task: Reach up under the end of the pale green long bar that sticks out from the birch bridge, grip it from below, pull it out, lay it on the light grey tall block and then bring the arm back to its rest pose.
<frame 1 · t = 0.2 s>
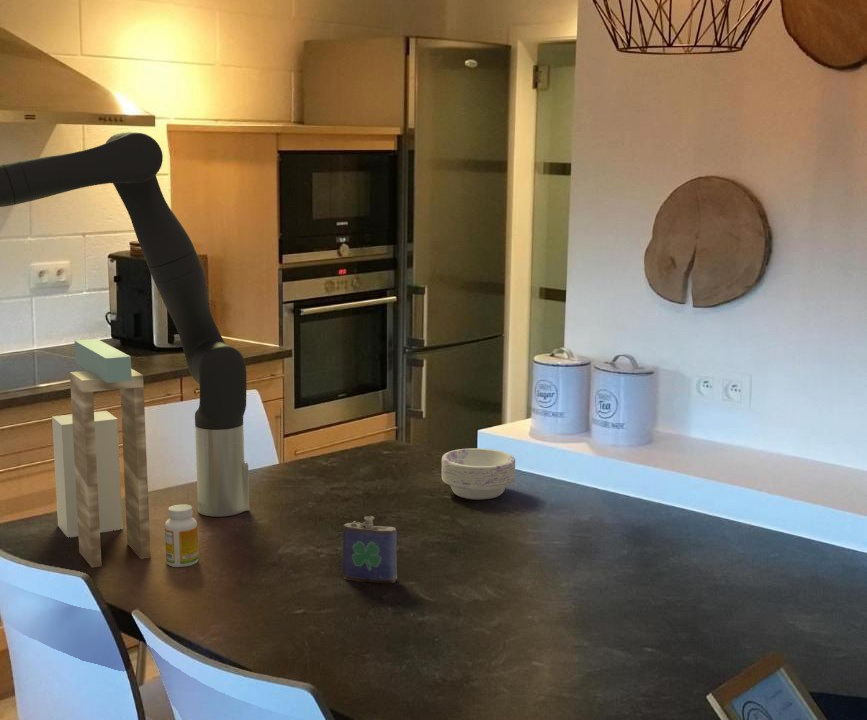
bridge: (114, 554, 196), on the table
light grey tall block: (90, 527, 211), on the table
paper bowls: (478, 494, 234), on the table
pale green long bar: (102, 371, 193), point 32 cm above the table, touching bridge
supplement bottle: (182, 563, 193), on the table
flask: (369, 580, 185), on the table
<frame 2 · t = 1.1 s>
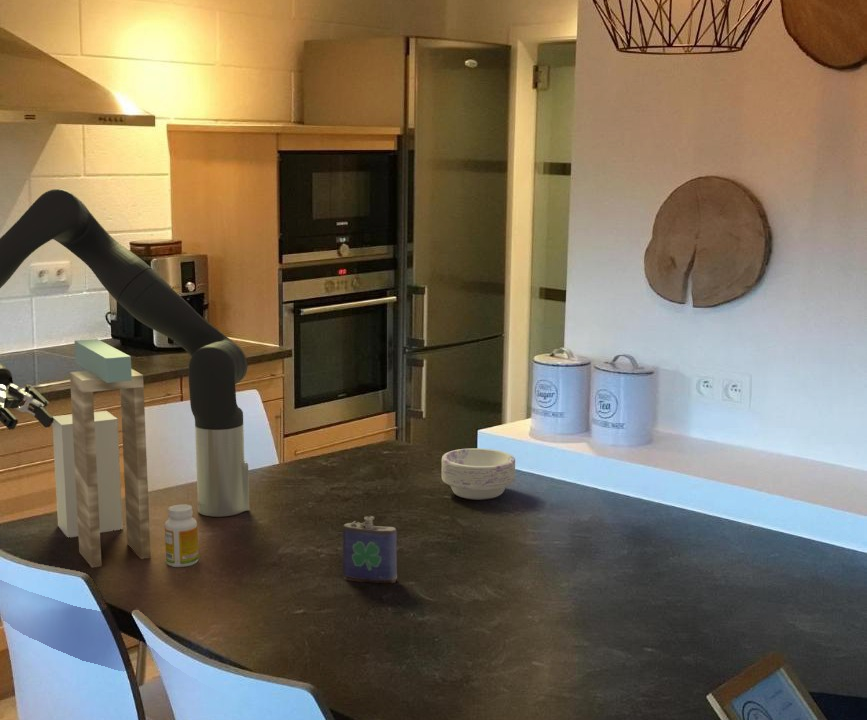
hand: (32, 424, 203), 21 cm above the table, tool tilted 60°, fingers open, 8 cm apart
nothing on the table moved.
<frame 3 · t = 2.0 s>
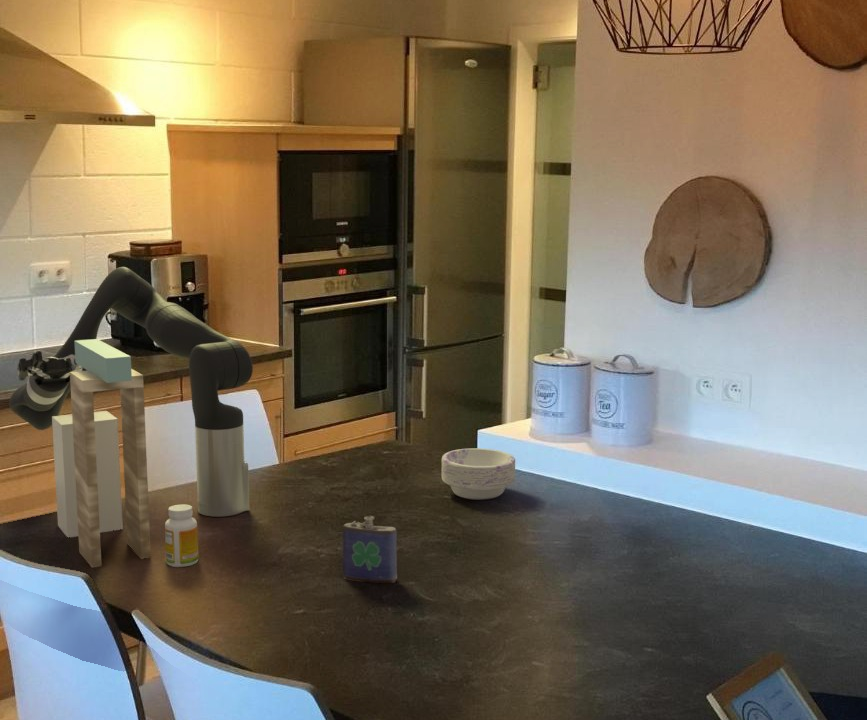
hand: (63, 353, 218), 31 cm above the table, tool pointing upward, fingers open, 8 cm apart
nothing on the table moved.
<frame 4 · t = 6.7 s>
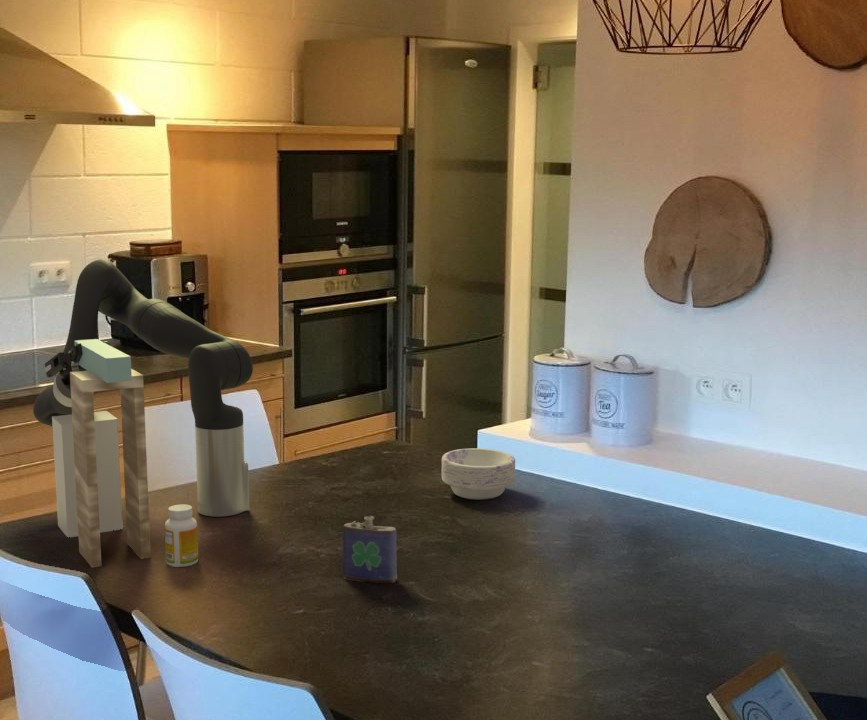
hand: (93, 347, 197), 35 cm above the table, tool pointing upward, fingers closed on pale green long bar, 4 cm apart
pale green long bar: (102, 371, 193), point 32 cm above the table, touching bridge, gripper
everything else where it was.
when the fingers open (25 cm above the table, at t = 12.7 s): pale green long bar stays where it is, resting on light grey tall block.
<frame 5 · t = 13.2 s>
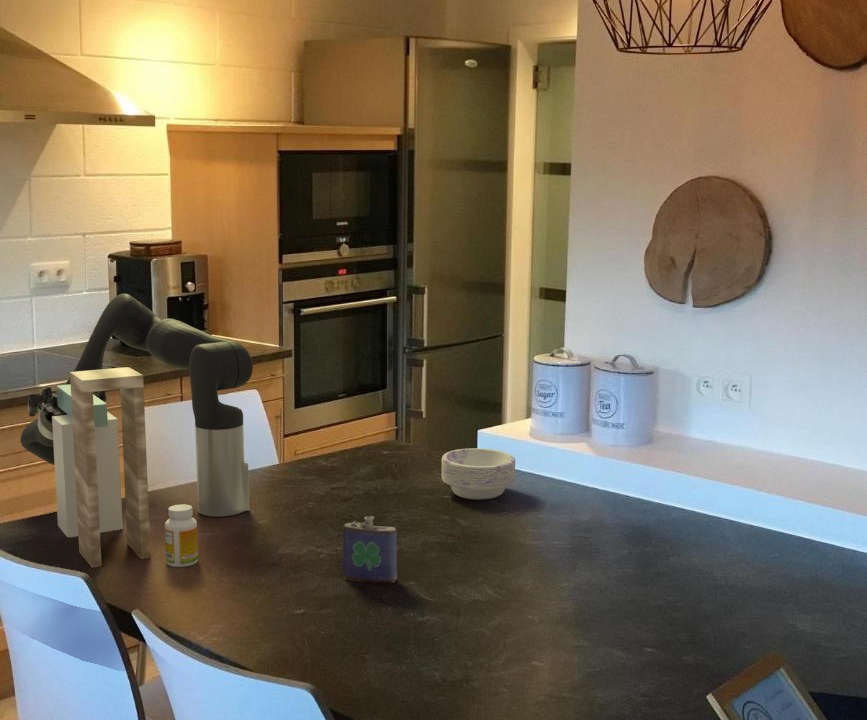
hand: (73, 388, 214), 25 cm above the table, tool pointing upward, fingers open, 8 cm apart
pale green long bar: (81, 415, 210), point 21 cm above the table, touching light grey tall block
everything else where it was.
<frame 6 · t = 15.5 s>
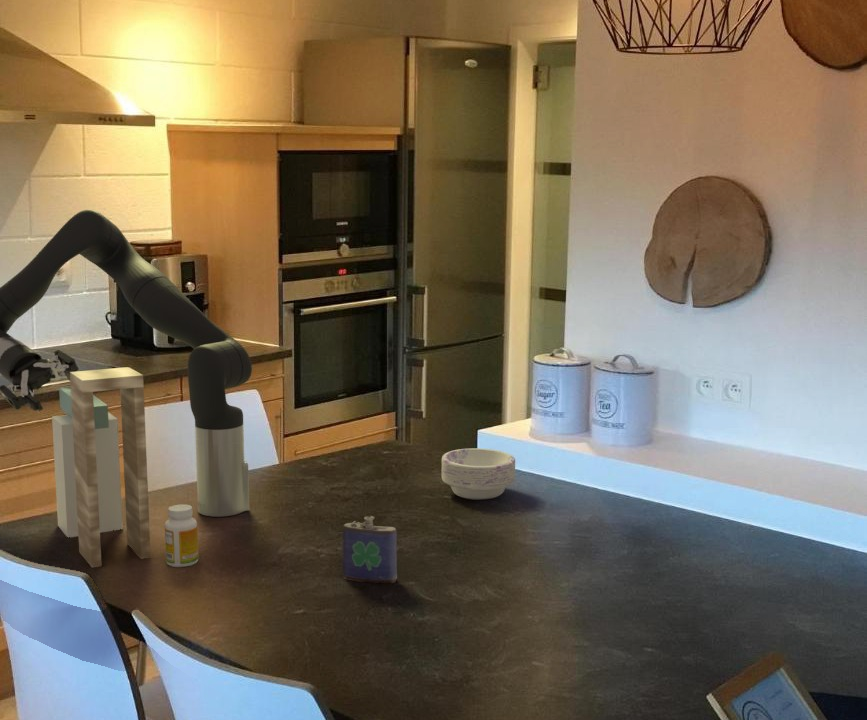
hand: (59, 394, 214), 24 cm above the table, tool tilted 75°, fingers open, 8 cm apart
pale green long bar: (83, 417, 208), point 21 cm above the table, touching light grey tall block
everything else where it was.
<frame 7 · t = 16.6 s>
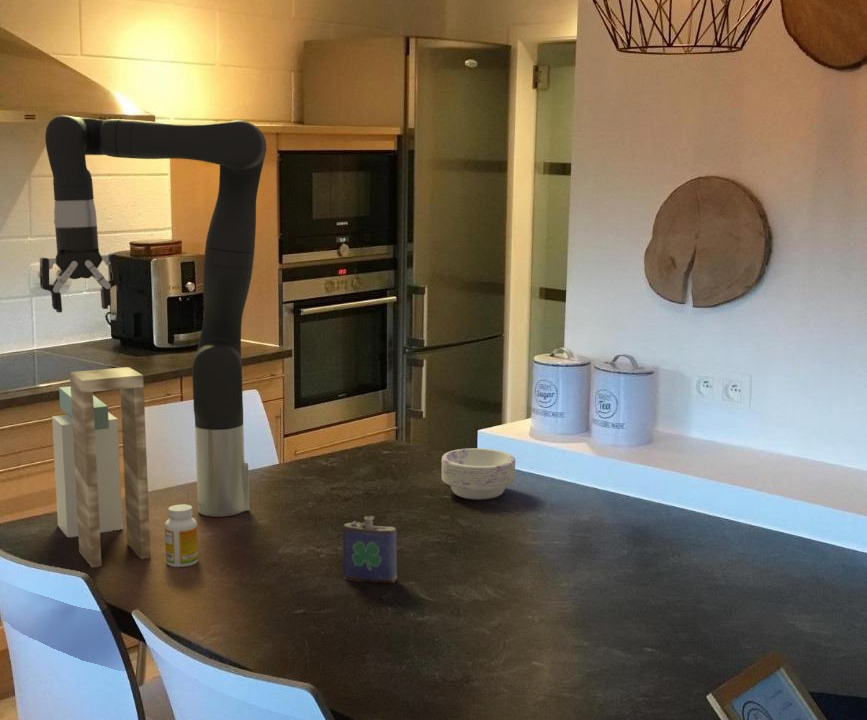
hand: (82, 310, 215), 40 cm above the table, tool pointing down, fingers open, 8 cm apart
nothing on the table moved.
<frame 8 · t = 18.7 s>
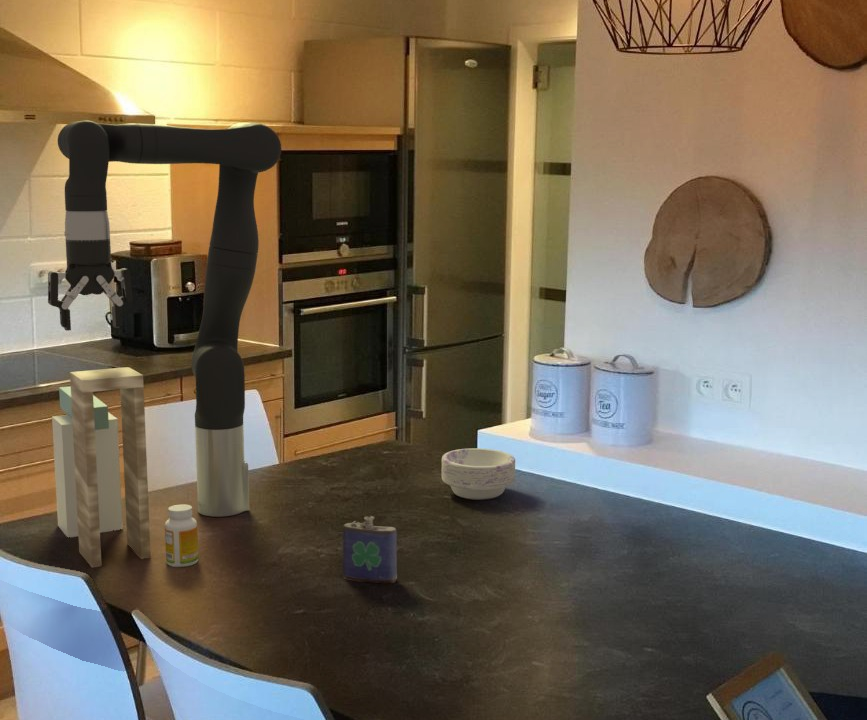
hand: (92, 328, 201), 38 cm above the table, tool pointing down, fingers open, 8 cm apart
nothing on the table moved.
at the end: pale green long bar inside the target area on the light grey tall block (2.0 cm from its centre), point 21.0 cm above the light grey tall block's base; pale green long bar touching light grey tall block; the gripper is holding nothing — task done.
